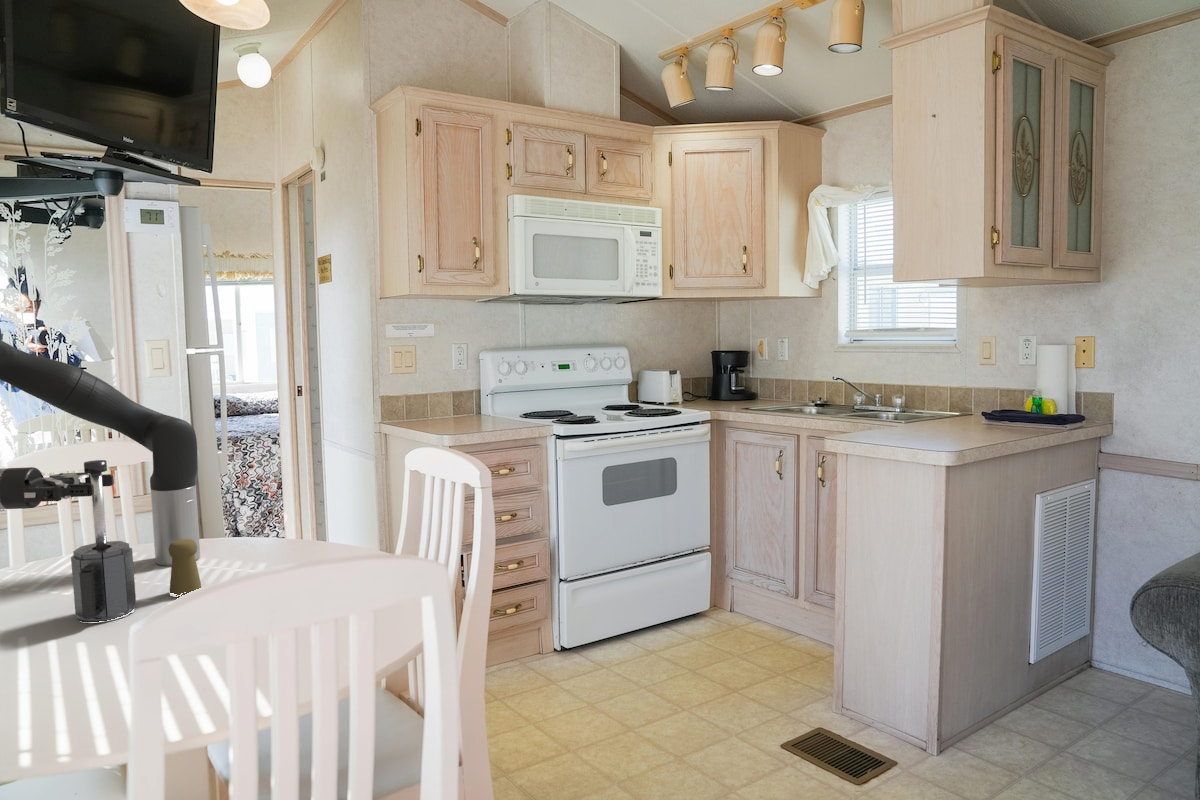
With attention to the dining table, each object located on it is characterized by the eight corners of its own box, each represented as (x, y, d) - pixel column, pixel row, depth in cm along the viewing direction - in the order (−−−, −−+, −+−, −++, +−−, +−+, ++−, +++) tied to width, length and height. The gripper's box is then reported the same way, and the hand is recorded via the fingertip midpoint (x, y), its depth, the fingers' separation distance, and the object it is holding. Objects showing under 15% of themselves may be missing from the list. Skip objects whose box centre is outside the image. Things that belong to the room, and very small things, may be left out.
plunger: (92, 567, 157) (84, 459, 155) (128, 565, 158) (120, 458, 156) (77, 577, 151) (68, 465, 149) (114, 575, 152) (106, 464, 150)
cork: (188, 598, 164) (185, 545, 162) (162, 596, 165) (158, 543, 164) (208, 588, 170) (205, 536, 168) (183, 586, 171) (179, 535, 170)
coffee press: (90, 607, 159) (85, 541, 158) (142, 603, 161) (138, 539, 160) (60, 631, 147) (55, 560, 146) (117, 627, 149) (112, 557, 148)
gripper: (-17, 476, 143) (84, 472, 146) (25, 461, 157) (117, 458, 160) (-13, 518, 144) (87, 513, 146) (29, 499, 158) (120, 495, 160)
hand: (103, 484), depth 153 cm, fingers open, 8 cm apart
